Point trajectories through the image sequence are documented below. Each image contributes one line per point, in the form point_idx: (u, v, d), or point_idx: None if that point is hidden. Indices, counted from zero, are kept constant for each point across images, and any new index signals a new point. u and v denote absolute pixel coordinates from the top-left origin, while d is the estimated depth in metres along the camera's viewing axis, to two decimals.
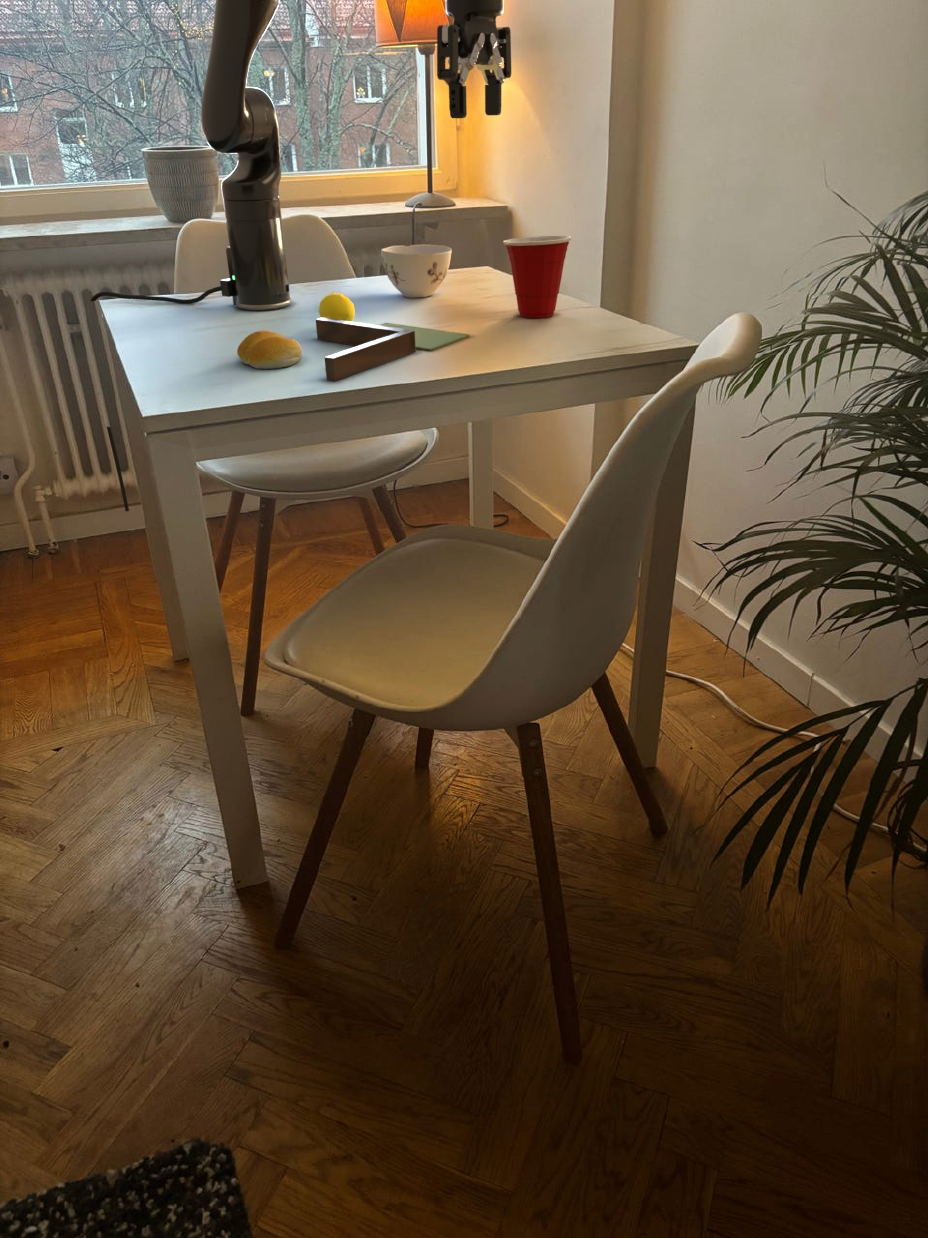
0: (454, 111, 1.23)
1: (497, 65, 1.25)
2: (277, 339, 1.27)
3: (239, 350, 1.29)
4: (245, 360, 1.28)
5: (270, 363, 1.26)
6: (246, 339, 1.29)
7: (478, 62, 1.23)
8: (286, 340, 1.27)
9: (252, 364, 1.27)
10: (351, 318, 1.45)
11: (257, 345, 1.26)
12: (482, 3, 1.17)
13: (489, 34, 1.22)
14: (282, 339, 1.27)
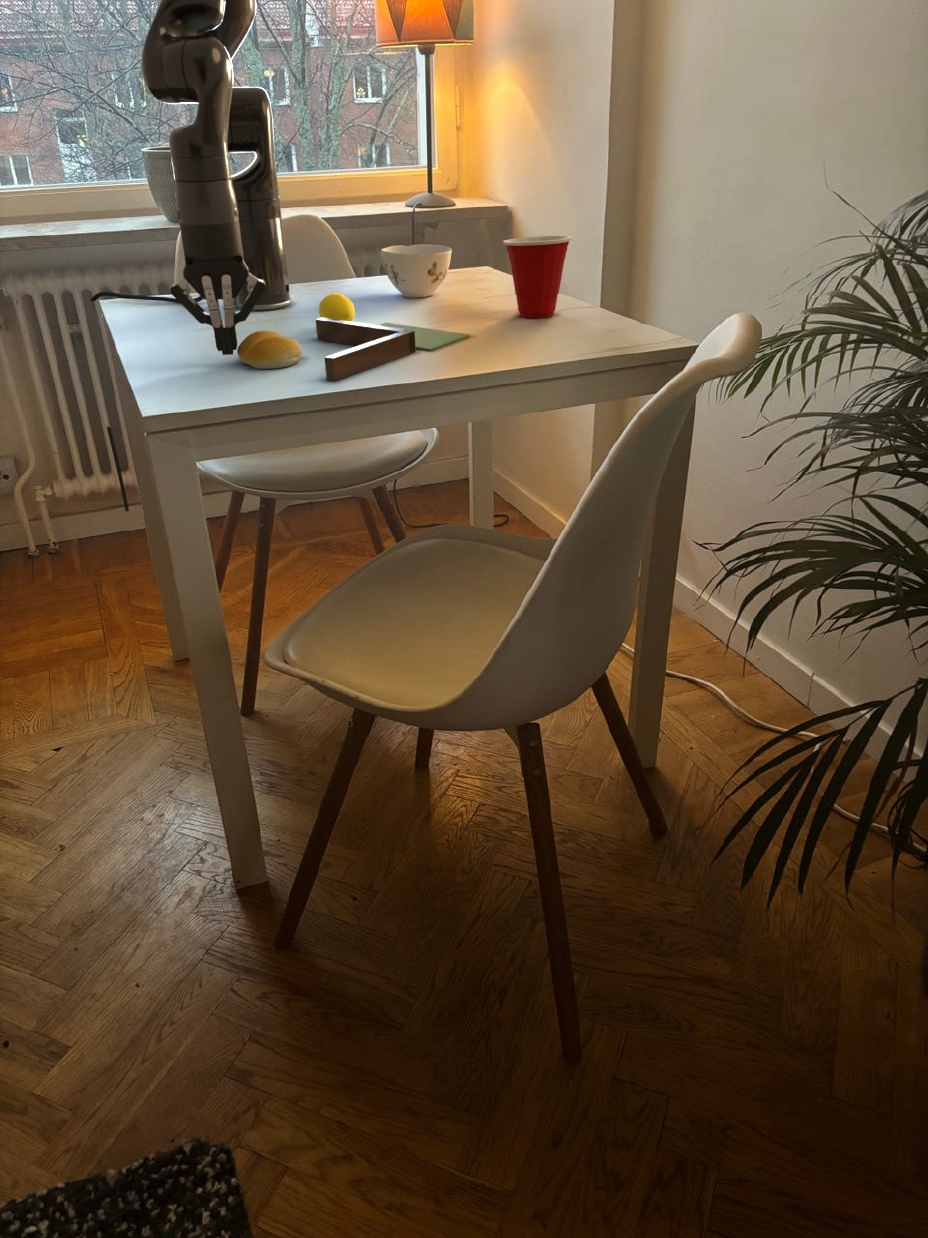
0: None
1: (223, 305, 1.24)
2: (277, 339, 1.27)
3: (239, 350, 1.29)
4: (245, 360, 1.28)
5: (270, 363, 1.26)
6: (246, 339, 1.29)
7: None
8: (286, 340, 1.27)
9: (252, 364, 1.27)
10: (351, 318, 1.45)
11: (257, 345, 1.26)
12: (192, 251, 1.19)
13: (223, 275, 1.23)
14: (282, 339, 1.27)
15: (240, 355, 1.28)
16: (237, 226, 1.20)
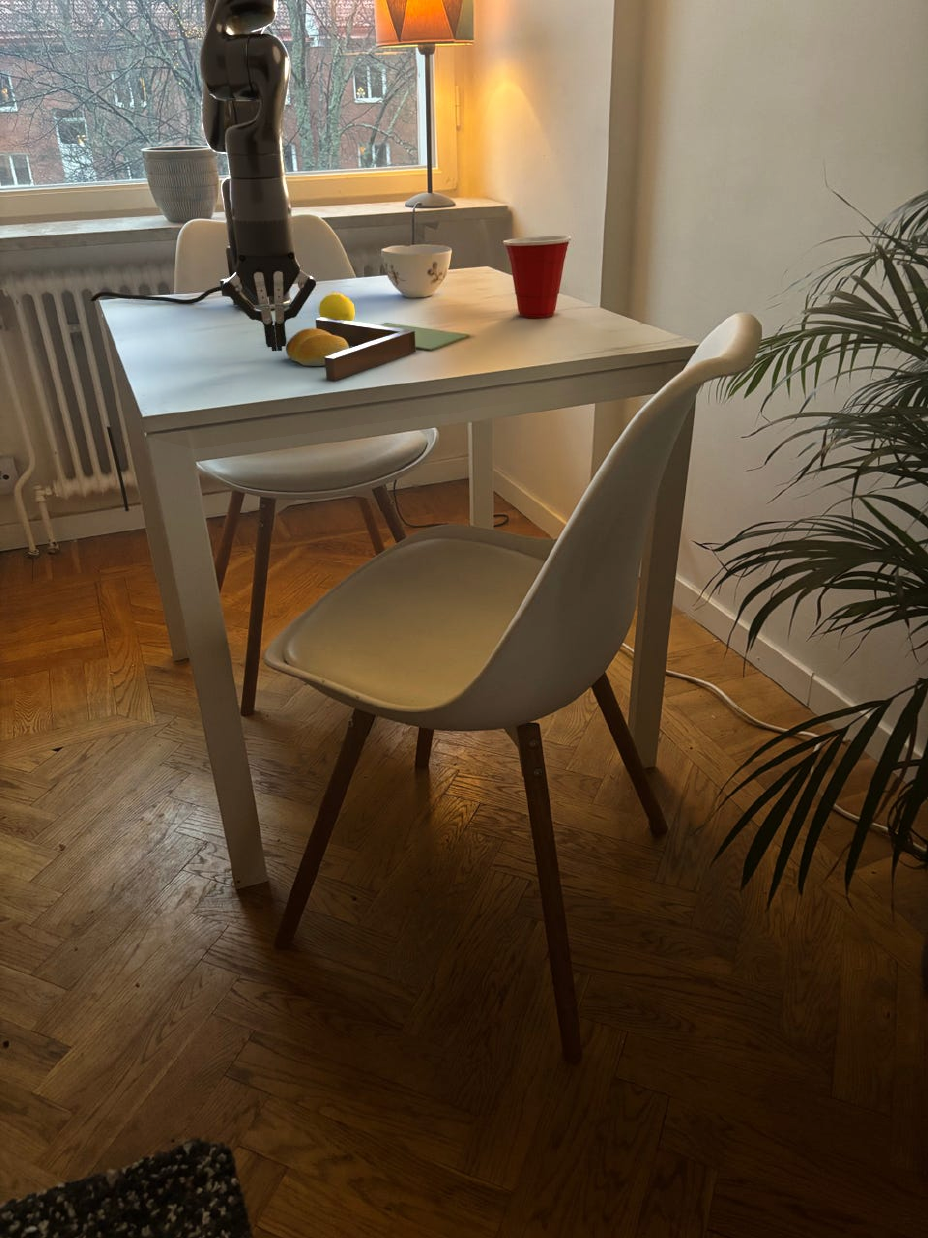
0: None
1: (274, 301, 1.25)
2: (326, 336, 1.28)
3: (288, 347, 1.29)
4: (294, 357, 1.29)
5: (318, 361, 1.27)
6: (295, 336, 1.29)
7: None
8: (335, 338, 1.28)
9: (301, 361, 1.28)
10: (351, 318, 1.45)
11: (306, 342, 1.27)
12: (245, 248, 1.20)
13: (275, 271, 1.23)
14: (331, 337, 1.28)
15: (288, 352, 1.29)
16: (290, 223, 1.21)
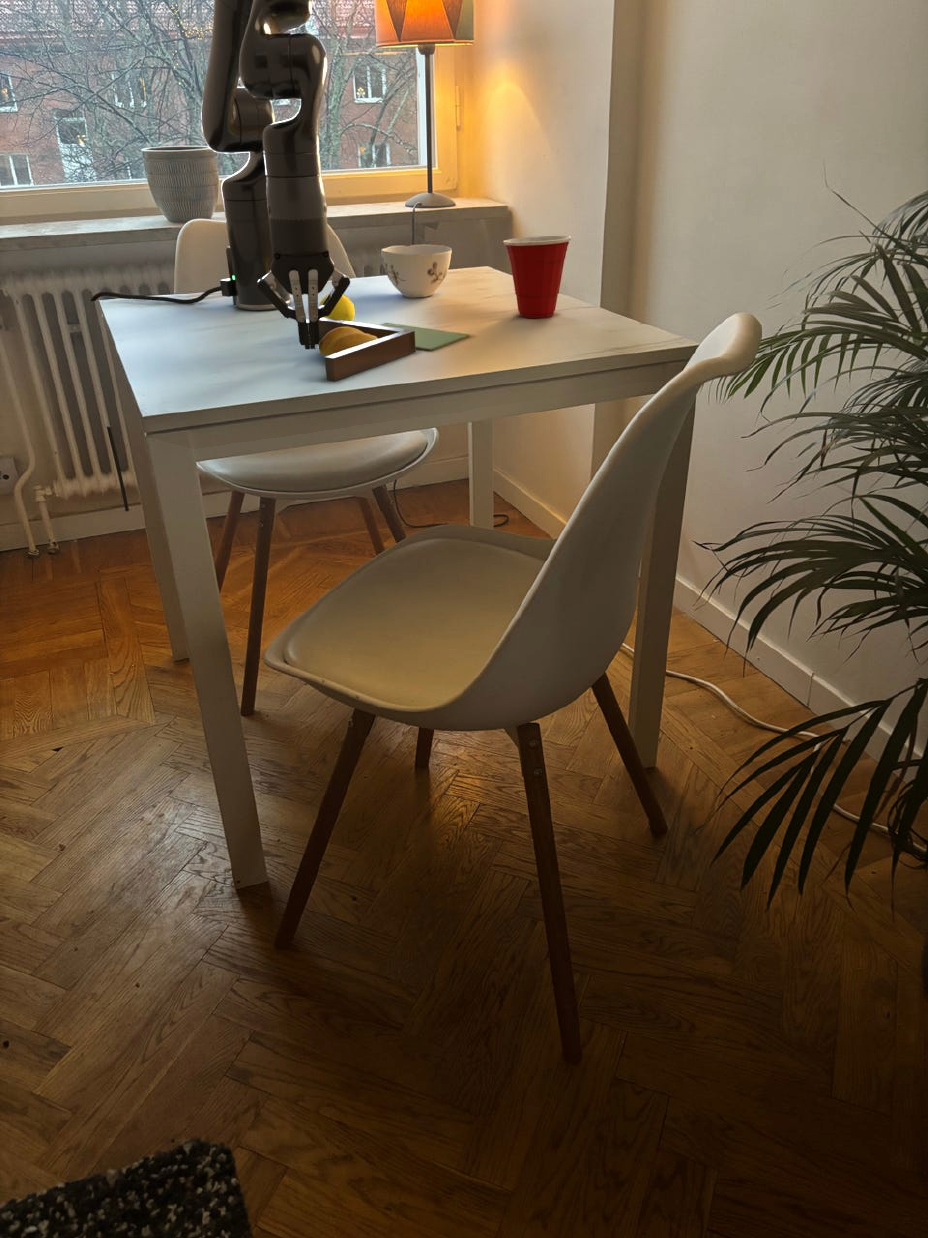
0: (300, 342, 1.30)
1: (309, 299, 1.26)
2: (359, 335, 1.28)
3: (321, 345, 1.30)
4: (326, 355, 1.29)
5: None
6: (328, 335, 1.30)
7: None
8: (367, 336, 1.28)
9: None
10: (351, 318, 1.45)
11: (339, 340, 1.28)
12: (281, 246, 1.21)
13: (310, 270, 1.24)
14: (364, 335, 1.28)
15: (321, 350, 1.30)
16: (326, 221, 1.22)
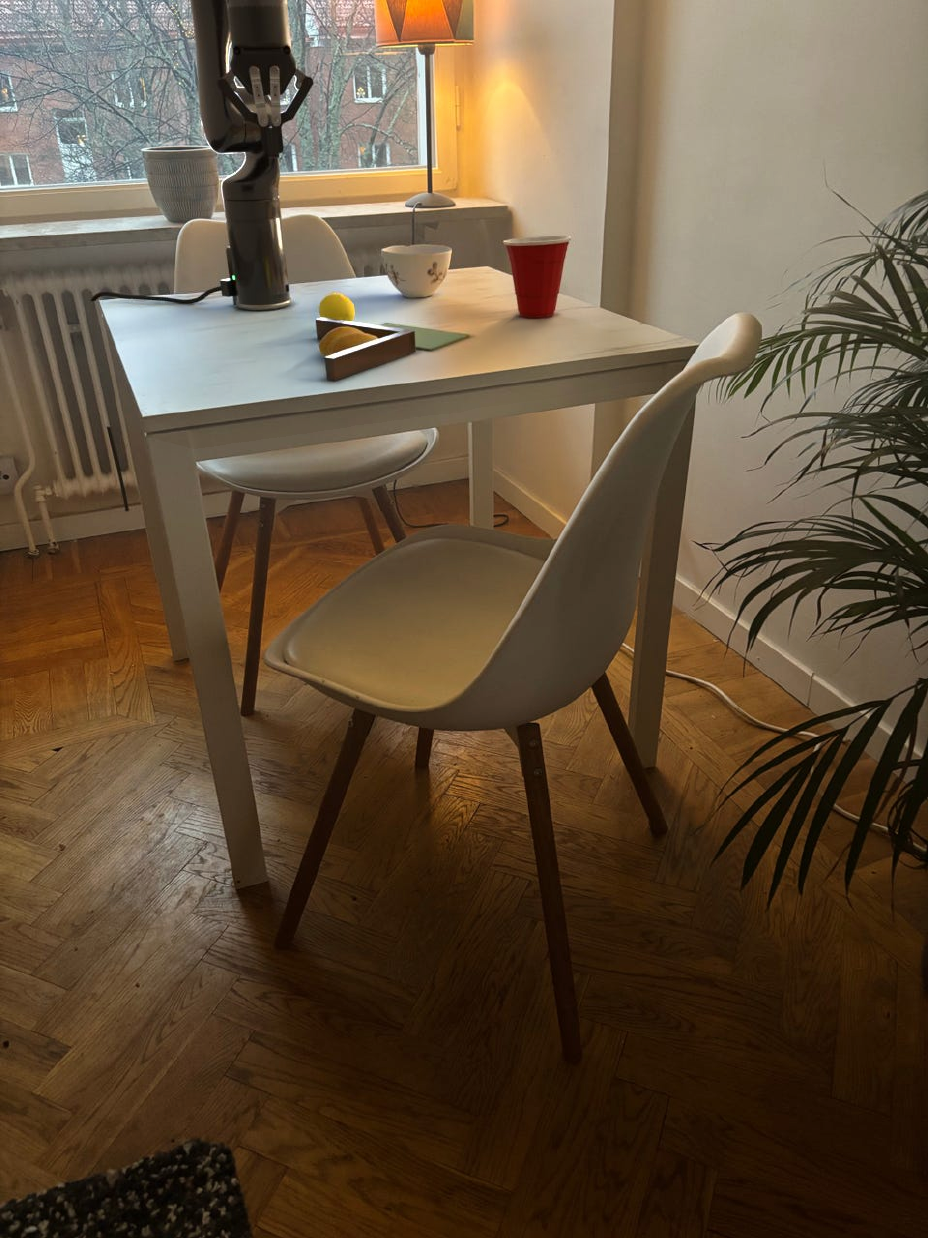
0: (263, 151, 1.26)
1: (271, 100, 1.22)
2: (359, 335, 1.28)
3: (321, 345, 1.30)
4: (326, 355, 1.29)
5: None
6: (328, 335, 1.30)
7: None
8: (368, 336, 1.28)
9: None
10: (351, 318, 1.45)
11: (339, 340, 1.28)
12: (240, 37, 1.17)
13: (271, 66, 1.20)
14: (364, 335, 1.28)
15: (321, 350, 1.30)
16: (286, 13, 1.18)
